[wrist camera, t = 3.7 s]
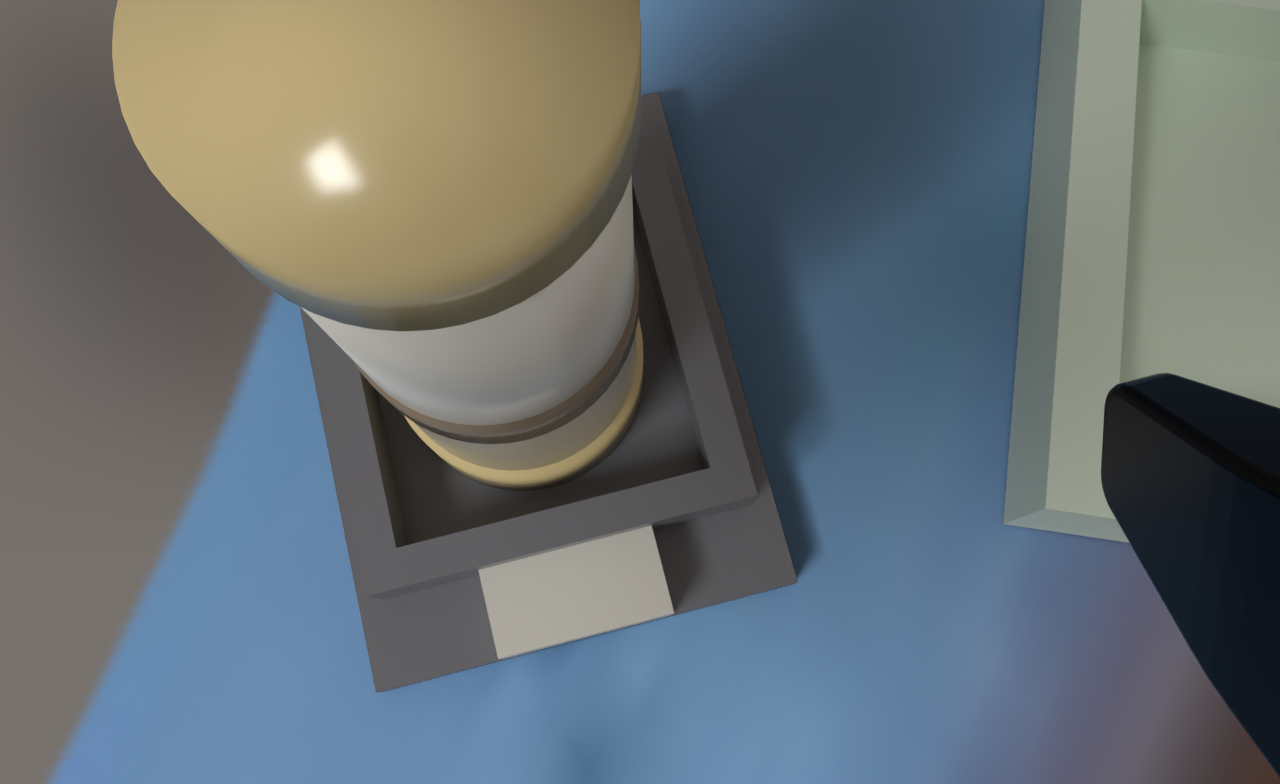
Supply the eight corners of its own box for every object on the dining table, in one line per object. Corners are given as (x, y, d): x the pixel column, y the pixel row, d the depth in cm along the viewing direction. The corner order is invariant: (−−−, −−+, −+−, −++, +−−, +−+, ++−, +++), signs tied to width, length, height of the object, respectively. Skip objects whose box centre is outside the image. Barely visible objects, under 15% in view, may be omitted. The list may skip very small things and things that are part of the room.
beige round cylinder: (564, 536, 19) (456, 373, 8) (361, 414, 19) (3, 108, 8) (686, 334, 19) (736, -60, 9) (489, 222, 20) (308, -281, 9)
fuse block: (792, 583, 19) (808, 577, 17) (384, 691, 19) (358, 695, 17) (657, 107, 21) (659, 58, 19) (285, 196, 21) (252, 154, 19)
